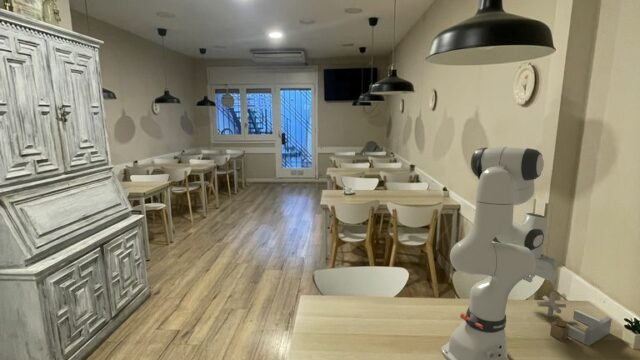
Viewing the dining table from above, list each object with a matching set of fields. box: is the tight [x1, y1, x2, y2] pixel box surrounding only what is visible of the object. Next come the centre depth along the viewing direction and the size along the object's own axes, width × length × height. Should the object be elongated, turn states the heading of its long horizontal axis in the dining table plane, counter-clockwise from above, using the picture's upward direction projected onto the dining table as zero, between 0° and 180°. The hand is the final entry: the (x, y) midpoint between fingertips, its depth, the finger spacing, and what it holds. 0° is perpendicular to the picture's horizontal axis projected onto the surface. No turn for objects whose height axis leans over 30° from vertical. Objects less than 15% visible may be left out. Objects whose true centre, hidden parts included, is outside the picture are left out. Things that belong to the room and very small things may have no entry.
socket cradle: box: [556, 309, 613, 347], centre depth 129 cm, size 15×12×6 cm
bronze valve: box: [549, 319, 570, 342], centre depth 126 cm, size 4×4×6 cm
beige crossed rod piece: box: [536, 291, 567, 318], centre depth 138 cm, size 10×10×10 cm
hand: (527, 280), depth 147 cm, fingers closed
